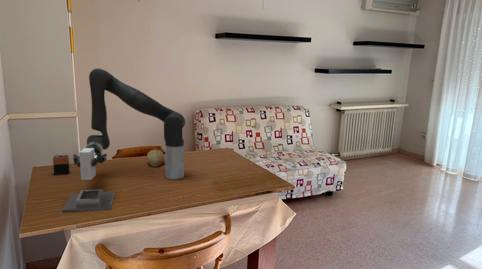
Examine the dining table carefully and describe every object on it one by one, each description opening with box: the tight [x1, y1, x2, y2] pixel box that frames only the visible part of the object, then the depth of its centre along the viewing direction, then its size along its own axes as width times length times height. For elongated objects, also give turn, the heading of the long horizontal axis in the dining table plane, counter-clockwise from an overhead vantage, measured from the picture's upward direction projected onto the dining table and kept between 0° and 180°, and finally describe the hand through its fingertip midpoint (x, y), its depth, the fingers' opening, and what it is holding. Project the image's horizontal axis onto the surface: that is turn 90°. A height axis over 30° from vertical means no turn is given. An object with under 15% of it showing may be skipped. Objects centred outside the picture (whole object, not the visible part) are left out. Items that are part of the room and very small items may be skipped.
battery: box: [52, 153, 70, 176], centre depth 175 cm, size 4×7×10 cm, turn 111°
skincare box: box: [78, 147, 97, 181], centre depth 142 cm, size 6×4×12 cm
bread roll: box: [146, 149, 165, 168], centre depth 198 cm, size 10×15×8 cm, turn 19°
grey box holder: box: [61, 188, 115, 213], centre depth 145 cm, size 18×16×4 cm
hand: (86, 164), depth 140 cm, fingers closed on skincare box, 4 cm apart
